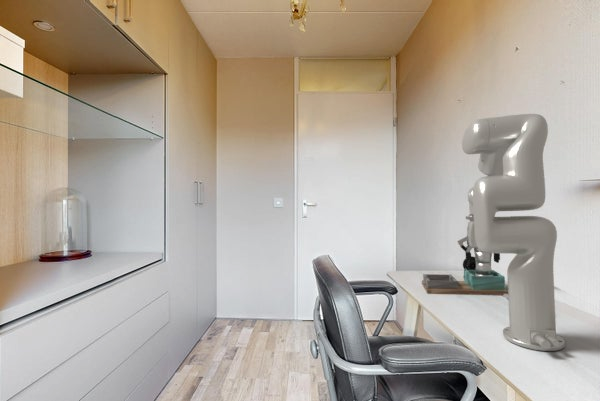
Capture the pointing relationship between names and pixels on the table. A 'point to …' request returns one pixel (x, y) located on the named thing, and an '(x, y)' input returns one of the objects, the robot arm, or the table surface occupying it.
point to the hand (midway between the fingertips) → (482, 262)
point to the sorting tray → (465, 284)
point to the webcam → (469, 264)
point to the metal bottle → (482, 263)
